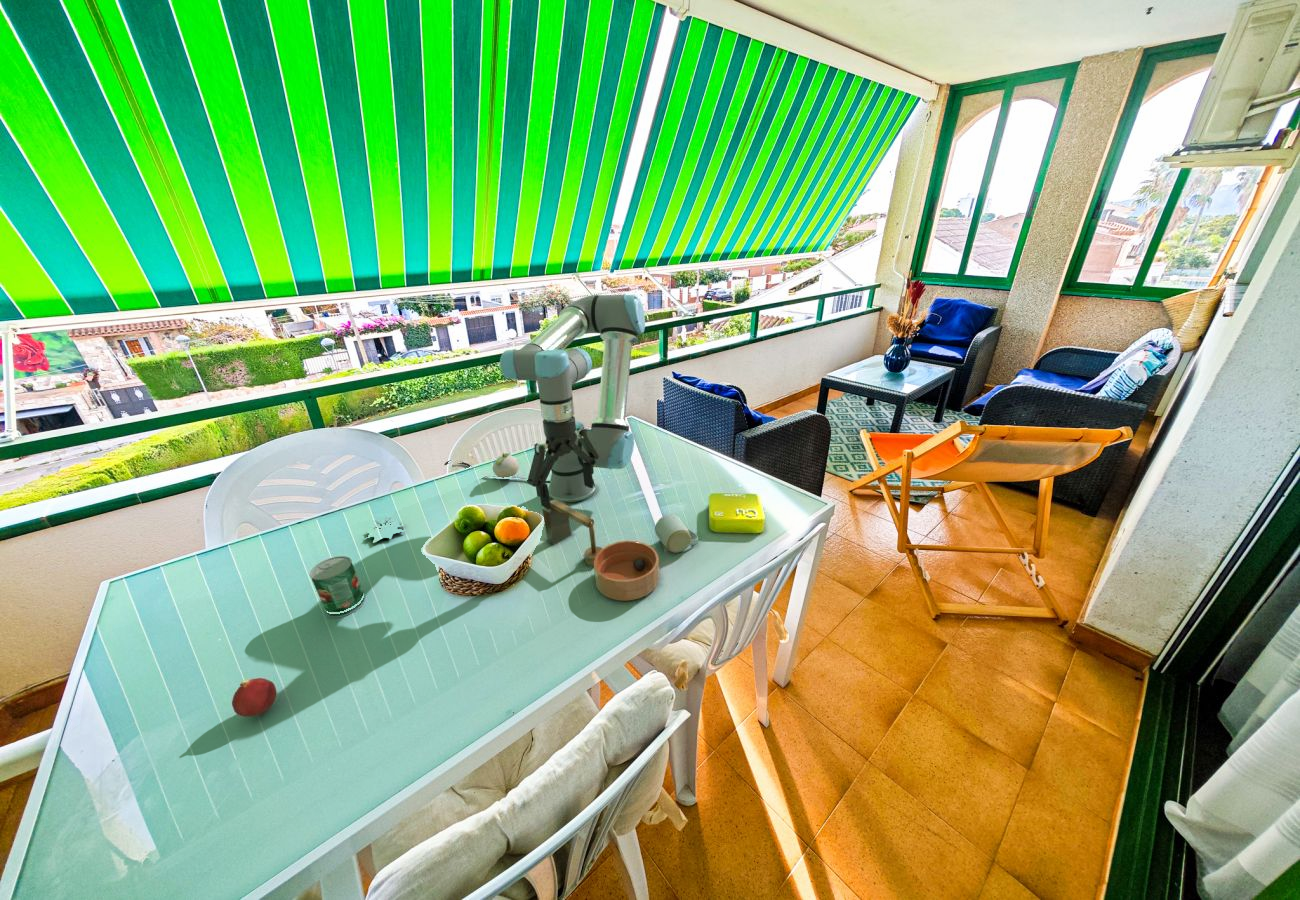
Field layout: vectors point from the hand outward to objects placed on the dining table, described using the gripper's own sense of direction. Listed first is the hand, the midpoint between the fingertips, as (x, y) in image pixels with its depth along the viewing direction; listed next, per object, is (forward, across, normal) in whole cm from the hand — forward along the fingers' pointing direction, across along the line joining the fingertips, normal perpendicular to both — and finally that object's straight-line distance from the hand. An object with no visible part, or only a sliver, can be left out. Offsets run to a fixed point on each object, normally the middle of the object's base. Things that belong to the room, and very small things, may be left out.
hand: (568, 496), depth 116 cm
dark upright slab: (+16, 0, +7) cm, 17 cm away
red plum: (+16, -67, +5) cm, 69 cm away
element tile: (+16, +39, -25) cm, 49 cm away
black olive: (+14, +4, -20) cm, 25 cm away
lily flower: (+16, -31, +48) cm, 59 cm away
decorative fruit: (+16, +10, +50) cm, 53 cm away
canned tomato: (+16, -48, +24) cm, 56 cm away
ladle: (+16, 0, -1) cm, 16 cm away
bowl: (+16, 0, -20) cm, 26 cm away
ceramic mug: (+16, +19, -20) cm, 32 cm away
